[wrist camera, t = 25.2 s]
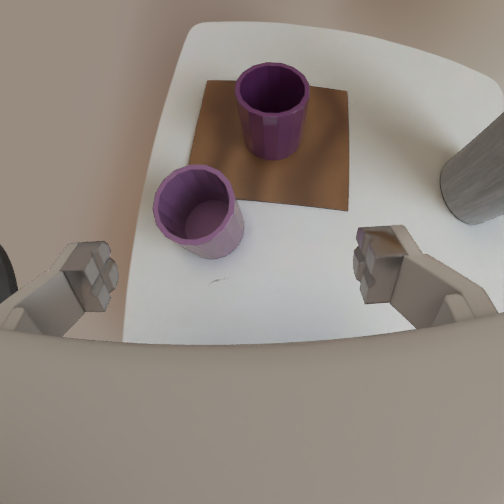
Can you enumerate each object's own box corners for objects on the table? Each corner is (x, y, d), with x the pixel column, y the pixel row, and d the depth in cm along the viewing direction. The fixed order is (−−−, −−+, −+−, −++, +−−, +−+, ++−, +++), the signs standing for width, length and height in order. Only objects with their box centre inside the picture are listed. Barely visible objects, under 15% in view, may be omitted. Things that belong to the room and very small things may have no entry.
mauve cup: (171, 225, 37) (138, 201, 27) (217, 186, 37) (200, 149, 27) (208, 272, 36) (185, 262, 26) (257, 230, 36) (252, 205, 26)
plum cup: (231, 133, 38) (220, 86, 28) (274, 102, 38) (274, 53, 28) (270, 171, 37) (269, 130, 27) (313, 138, 37) (324, 91, 27)
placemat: (183, 195, 37) (182, 194, 37) (208, 81, 40) (207, 80, 39) (347, 211, 36) (348, 210, 35) (346, 92, 38) (347, 91, 38)
